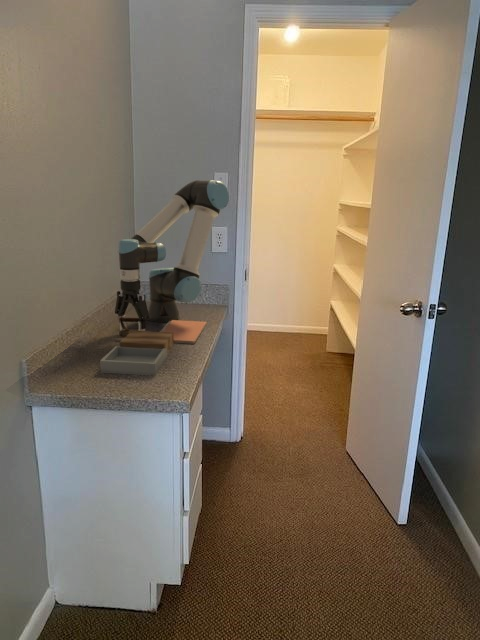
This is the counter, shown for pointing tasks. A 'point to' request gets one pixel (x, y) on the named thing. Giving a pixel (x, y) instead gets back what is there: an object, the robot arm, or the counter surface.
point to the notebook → (184, 330)
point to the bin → (133, 360)
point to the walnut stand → (148, 340)
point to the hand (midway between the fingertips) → (132, 333)
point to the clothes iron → (127, 330)
